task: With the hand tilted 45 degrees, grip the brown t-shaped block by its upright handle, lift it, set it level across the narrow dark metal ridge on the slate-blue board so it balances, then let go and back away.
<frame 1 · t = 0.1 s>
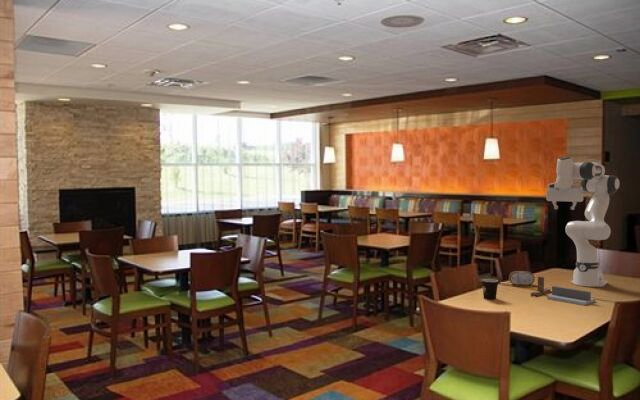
hand: (564, 209, 305), 48 cm above the table, tool pointing down, fingers open, 8 cm apart
ridge stand: (570, 300, 288), on the table
tin: (521, 285, 328), on the table
coffee mug: (489, 298, 294), on the table
brown t-shaped block: (540, 294, 303), on the table
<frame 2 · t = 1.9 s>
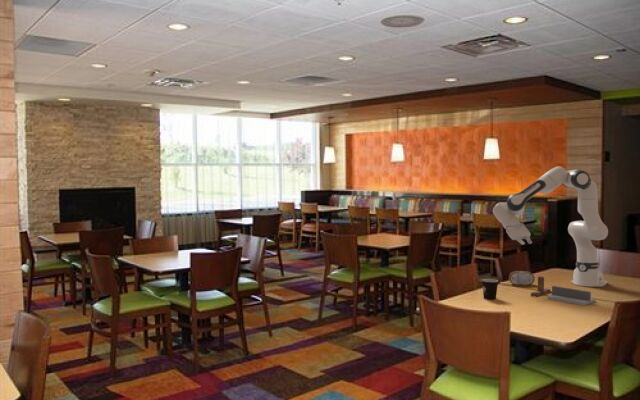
hand: (527, 243, 315), 27 cm above the table, tool tilted 45°, fingers open, 8 cm apart
nothing on the table moved.
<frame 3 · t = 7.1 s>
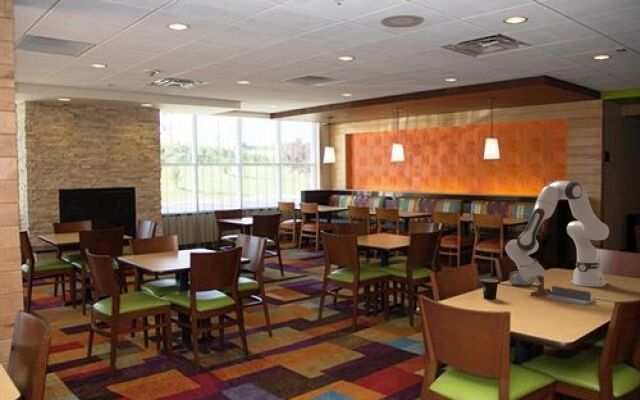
hand: (542, 283, 302), 6 cm above the table, tool tilted 45°, fingers closed on brown t-shaped block, 2 cm apart
brown t-shaped block: (540, 293, 303), on the table, touching gripper
everything else where it was.
when the fingers open (13 cm above the table, at t = 12.5 s): brown t-shaped block stays where it is, resting on ridge stand.
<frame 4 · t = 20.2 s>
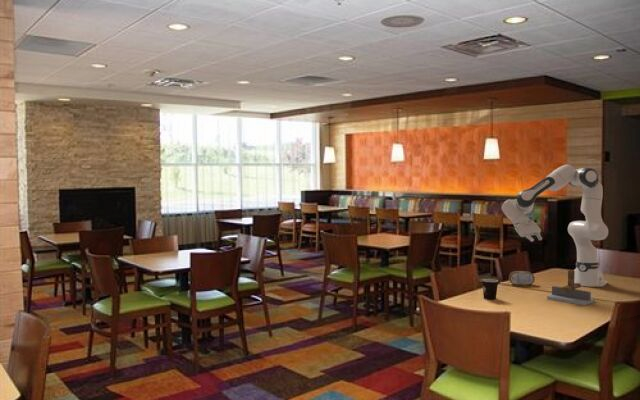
hand: (536, 240, 313), 29 cm above the table, tool tilted 45°, fingers open, 8 cm apart
brown t-shaped block: (571, 289, 288), point 6 cm above the table, touching ridge stand
everything else where it was.
at the end: brown t-shaped block 0.1 cm off-centre on the ridge stand, point 6.0 cm above the ridge stand's base; brown t-shaped block tilted 0°; the gripper is holding nothing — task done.
